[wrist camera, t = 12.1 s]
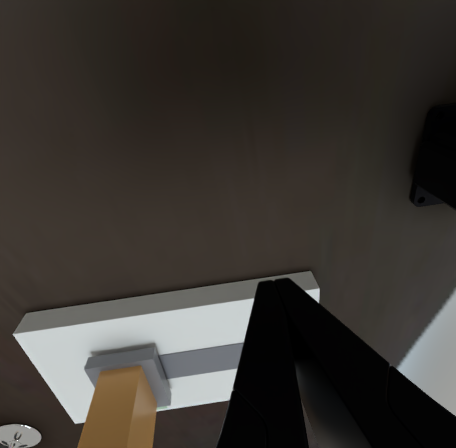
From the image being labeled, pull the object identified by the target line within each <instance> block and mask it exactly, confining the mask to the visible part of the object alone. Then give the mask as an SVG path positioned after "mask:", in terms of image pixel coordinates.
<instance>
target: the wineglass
mask: <svg viewBox="0 0 456 448" xmlns="http://www.w3.org/2000/svg"><path fill="white" fill-rule="evenodd" d="M41 439H42V435H41V433H40V432H39V431H38V430H37V429H35V428H33V427H31V426H28V425H23V424H6V425H2V426H0V443H1V444H3V445H6V446H8V448H26V447H31V446H34V445H36V444H38V443H39V442H40V441H41Z"/></svg>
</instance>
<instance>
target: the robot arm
mask: <svg viewBox="0 0 456 448" xmlns="http://www.w3.org/2000/svg"><path fill="white" fill-rule="evenodd" d="M438 112H440V115H439V116H438V117H437V118H436V115H437V113H438ZM420 197H421V199H420V200H418V199H419V198H420ZM411 202H412V203H413V204H414V205H415V206H417V207H421V206H428V205H435V204H441V203H445V204H447V205H448V206H450V207H451V208H453V209H454V210H456V103H452V104H445V105H438V106H435V107H433V108H432V109H431V110H430V111H429V112H428V115H427V120H426V125H425V130H424V134H423V139H422V144H421V146H420V151H419V156H418V161H417V166H416V171H415V176H414V184H413V189H412V194H411ZM300 397H301V398H300ZM301 399H302V402H303V405H304V408H305V410H306V413H307V416H308V419H309V422H310V424H311V427H312V430H313V433H314V435H315V438H316V441H317V444H318V446H319V448H456V416H455V415H453V414H452V413H451V412H449V411H448V410H447V409H445V408H444V407H443V406H441V405H440V404H438V403H437V402H436V401H435V400H433V399H432V398H431V397H429V396H428V395H427V394H426V393H425V392H423V391H422V390H421V389H420V388H418V387H417V386H416V385H415V384H413V383H412V382H411V381H410V380H408V379H407V378H406V377H405V376H404V375H403V374H402V373H400V372H399V371H398V370H397V369H396V368H395V367H393V366H391V367H390V363H389V362H387V361H386V360H385V359H384V358H383V357H382V356H380V355H379V354H378V353H377V352H376V351H374V350H373V349H372V348H371V347H370V346H369V345H367V344H366V343H365V342H364V341H363V340H362V339H360V338H359V337H358V336H357V335H356V334H355V333H353V332H352V331H351V330H350V329H349V328H348V327H346V326H345V325H344V324H343V323H342V322H341V321H339V320H338V319H337V318H336V317H335V316H334V315H332V314H331V313H330V312H329V311H328V310H326V309H325V308H324V307H323V306H322V305H321V304H319V303H318V302H317V301H316V300H315V299H314V298H312V297H311V296H310V295H309V294H308V293H307V292H305V291H304V290H303V289H302V288H301V287H300V286H298V285H297V284H296V283H295V282H294V281H293V280H291V279H290V278H287V277H286V278H279V279H275V280H274V281H273V280H266V281H260V282H259V283H258V285H257V289H256V293H255V297H254V302H253V306H252V310H251V314H250V318H249V322H248V326H247V331H246V335H245V339H244V343H243V347H242V351H241V355H240V360H239V364H238V368H237V372H236V376H235V380H234V384H233V391H232V392H231V396H230V400H229V404H228V408H227V412H226V415H225V419H224V423H223V426H222V430H221V433H220V436H219V439H218V442H217V445H216V448H309V445H308V439H307V433H306V427H305V422H304V416H303V410H302V404H301Z"/></svg>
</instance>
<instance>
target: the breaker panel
mask: <svg viewBox="0 0 456 448" xmlns="http://www.w3.org/2000/svg"><path fill="white" fill-rule="evenodd" d="M286 277H287V278H290V279H291V280H293V281H294V282H295V283H296V284H297V285H298V286H300V287H301V288H302V289H303V290H304V291H305V292H307V293H308V294H309V295H310V296H311V297H312V298H314V299H315V300H316V301H317V302H318V303H319V291H320V288H319V286H318V284H317V282H316V280H315V278H314V276H313V274H312V272H311V271H307V272H300V273H293V274H287V275H280V276H273V277H266V278H260V279H253V280H246V281H239V282H233V283H226V284H219V285H212V286H206V287H199V288H192V289H185V290H179V291H172V292H165V293H158V294H152V295H145V296H138V297H131V298H125V299H118V300H111V301H104V302H98V303H91V304H84V305H77V306H71V307H64V308H57V309H50V310H44V311H37V312H30V313H26V314H25V316H24V317H23V319H22V321H21V322H20V324H19V325H18V327H17V328H16V330H15V332H14V333H13V335H14V337H15V338H16V340H17V341H18V342H19V344H20V345H21V347H22V348H23V350H24V351H25V352H26V354H27V355H28V357H29V358H30V360H31V361H32V362H33V364H34V365H35V367H36V368H37V370H38V371H39V373H40V374H41V375H42V377H43V378H44V380H45V381H46V383H47V384H48V385H49V387H50V388H51V390H52V391H53V393H54V394H55V395H56V397H57V398H58V400H59V401H60V403H61V404H62V405H63V407H64V408H65V410H66V411H67V413H68V414H69V416H70V417H71V418H72V420H73V421H74V423H75V424H77V423H83V422H85V421H86V417H87V414H88V411H89V407H90V404H91V401H92V397H93V394H94V391H95V388H94V386H93V384H92V383H91V381H90V379H89V377H88V376H87V374H86V372H85V370H84V368H85V365H86V362H87V359H88V357H94V356H100V355H107V354H114V353H120V352H127V351H134V350H140V349H147V348H154V347H155V349H156V352H157V355H158V358H159V360H160V363H161V366H162V368H163V371H164V374H165V377H166V379H167V382H168V385H169V388H170V390H171V393H172V395H171V405H170V406H164V407H157V410H156V411H161V410H168V409H174V408H181V407H188V406H194V405H201V404H207V403H214V402H220V401H227V400H230V396H231V392H232V391H233V384H234V380H235V376H236V372H237V368H238V364H239V360H240V355H241V351H242V347H243V343H244V339H245V335H246V331H247V326H248V322H249V318H250V314H251V310H252V306H253V302H254V297H255V293H256V289H257V285H258V283H259V282H260V281H266V280H273V281H274V280H275V279H279V278H286Z"/></svg>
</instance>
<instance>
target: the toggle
mask: <svg viewBox="0 0 456 448" xmlns="http://www.w3.org/2000/svg"><path fill="white" fill-rule="evenodd" d="M84 370H85V372H86V374H87V376H88V377H89V379H90V381H91V383H92V384H93V386H94V388H95V391H94V394H93V397H92V401H91V404H90V407H89V411H88V414H87V417H86V421H85V424H84V428H83V431H82V434H81V438H80V441H79V444H78V448H152V446H153V437H154V428H155V419H156V410H157V407H164V406H170V405H171V395H172V393H171V390H170V388H169V385H168V382H167V379H166V377H165V374H164V371H163V368H162V366H161V363H160V360H159V358H158V355H157V352H156V349H155V347H154V348H147V349H140V350H134V351H127V352H120V353H114V354H107V355H100V356H94V357H88V359H87V362H86V365H85V368H84Z"/></svg>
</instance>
